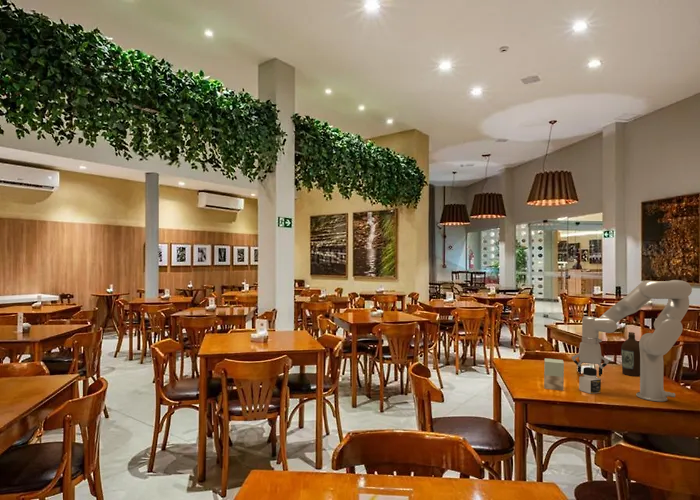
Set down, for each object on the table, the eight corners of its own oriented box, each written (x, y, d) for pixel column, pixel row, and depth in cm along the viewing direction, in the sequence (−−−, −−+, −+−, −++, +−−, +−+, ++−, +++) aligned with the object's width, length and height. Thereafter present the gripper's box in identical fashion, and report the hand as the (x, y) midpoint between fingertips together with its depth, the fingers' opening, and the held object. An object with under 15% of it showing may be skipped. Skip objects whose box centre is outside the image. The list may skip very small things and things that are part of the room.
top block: (562, 373, 240) (562, 360, 240) (563, 377, 232) (563, 363, 232) (544, 371, 243) (544, 358, 244) (544, 375, 235) (544, 361, 235)
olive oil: (628, 371, 276) (628, 330, 276) (646, 375, 266) (646, 333, 267) (617, 373, 271) (617, 331, 272) (634, 377, 261) (635, 334, 262)
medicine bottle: (590, 394, 226) (591, 370, 226) (578, 390, 233) (579, 366, 233) (601, 392, 229) (601, 369, 229) (588, 388, 236) (589, 365, 236)
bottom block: (562, 386, 240) (562, 373, 240) (563, 390, 231) (563, 377, 232) (544, 384, 243) (544, 371, 243) (544, 388, 235) (544, 375, 235)
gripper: (608, 341, 232) (608, 375, 231) (570, 338, 238) (570, 371, 238) (610, 343, 225) (610, 378, 224) (571, 340, 231) (571, 374, 231)
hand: (589, 374), depth 231 cm, fingers open, 8 cm apart
